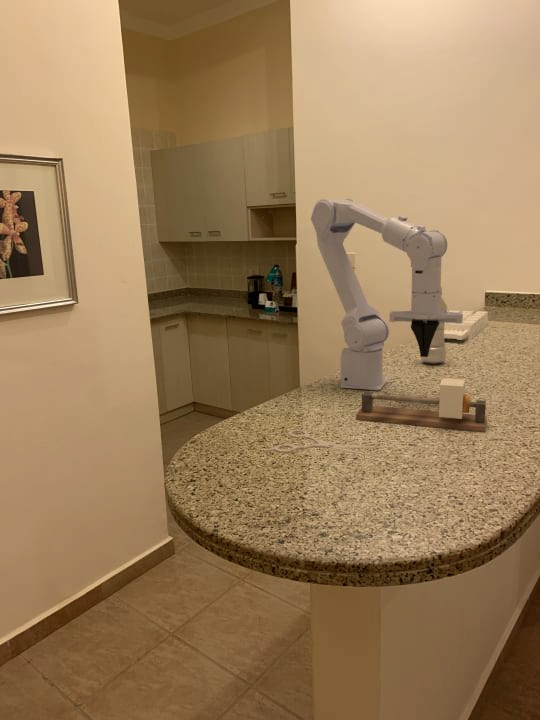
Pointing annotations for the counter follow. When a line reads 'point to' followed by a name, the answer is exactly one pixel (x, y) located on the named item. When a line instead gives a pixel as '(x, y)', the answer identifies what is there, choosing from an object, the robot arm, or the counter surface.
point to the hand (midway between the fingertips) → (424, 355)
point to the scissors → (317, 445)
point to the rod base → (422, 413)
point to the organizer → (466, 325)
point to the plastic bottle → (437, 340)
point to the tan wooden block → (451, 398)
